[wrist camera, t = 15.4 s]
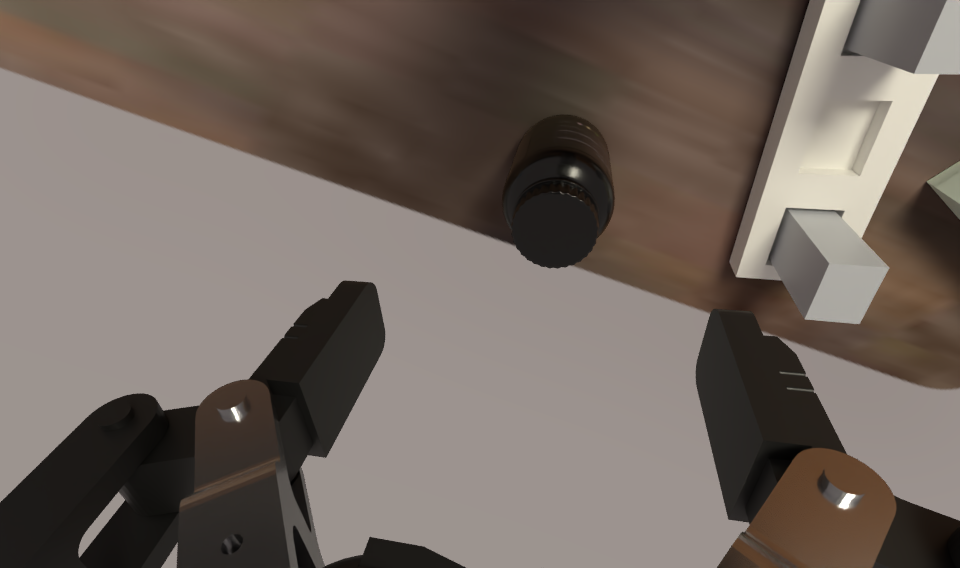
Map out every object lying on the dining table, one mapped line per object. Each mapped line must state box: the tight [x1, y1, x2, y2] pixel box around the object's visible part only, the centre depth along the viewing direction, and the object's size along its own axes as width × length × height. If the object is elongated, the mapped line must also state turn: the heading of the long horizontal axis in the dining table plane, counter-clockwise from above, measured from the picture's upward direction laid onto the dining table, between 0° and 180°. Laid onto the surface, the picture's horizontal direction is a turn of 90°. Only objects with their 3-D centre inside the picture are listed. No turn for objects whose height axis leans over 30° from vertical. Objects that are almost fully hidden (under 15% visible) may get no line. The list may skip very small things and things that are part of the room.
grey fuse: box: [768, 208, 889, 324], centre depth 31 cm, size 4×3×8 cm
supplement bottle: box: [502, 115, 615, 268], centre depth 31 cm, size 7×7×12 cm
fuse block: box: [729, 0, 939, 280], centre depth 30 cm, size 21×7×2 cm, turn 2°
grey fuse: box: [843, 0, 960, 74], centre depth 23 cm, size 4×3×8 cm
